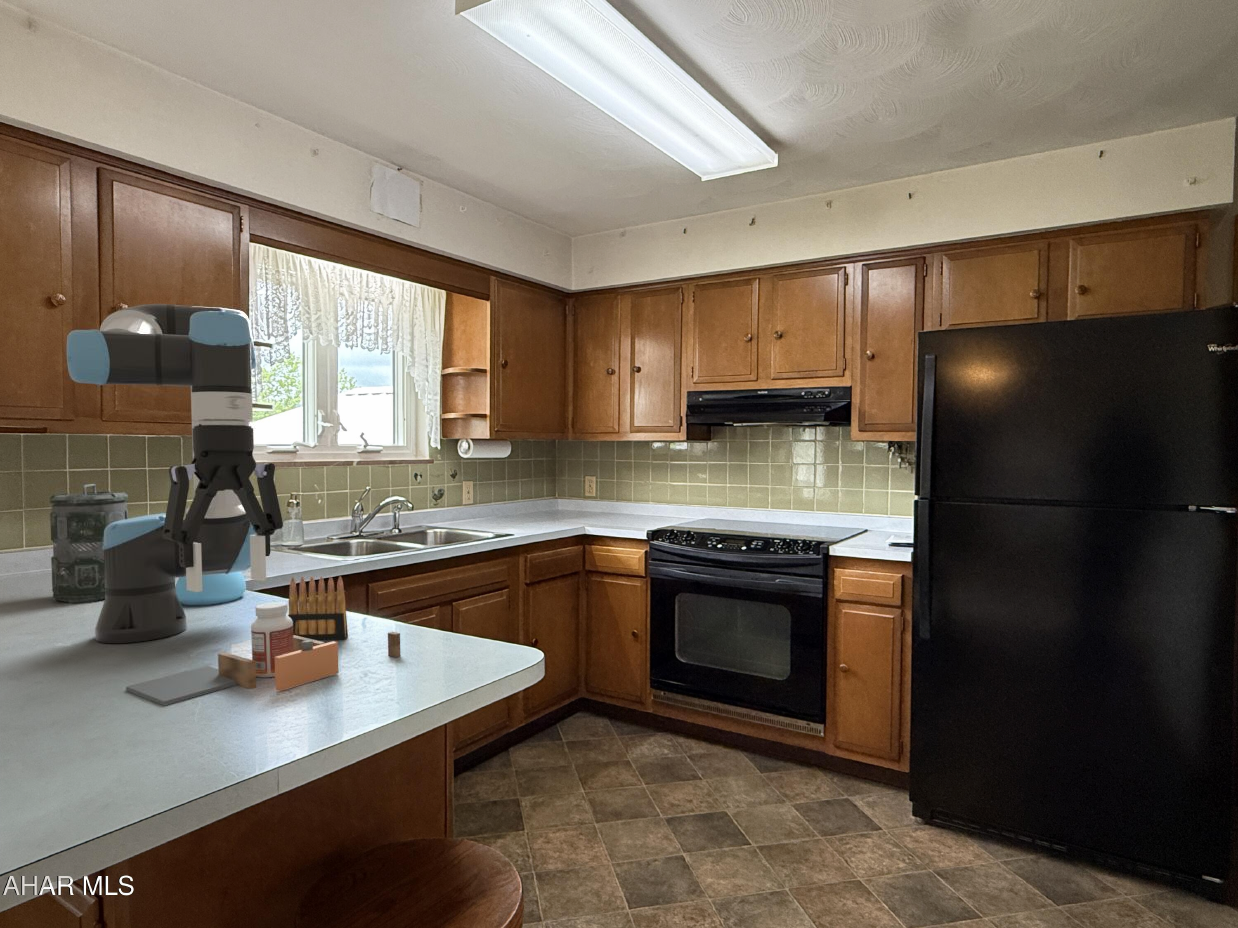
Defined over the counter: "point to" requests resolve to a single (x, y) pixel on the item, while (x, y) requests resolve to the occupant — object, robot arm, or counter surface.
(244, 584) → the sugar bowl
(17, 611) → the counter surface
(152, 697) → the mat
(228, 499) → the robot arm
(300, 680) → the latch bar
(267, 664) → the pill bottle
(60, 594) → the canister
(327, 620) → the ammunition clip
